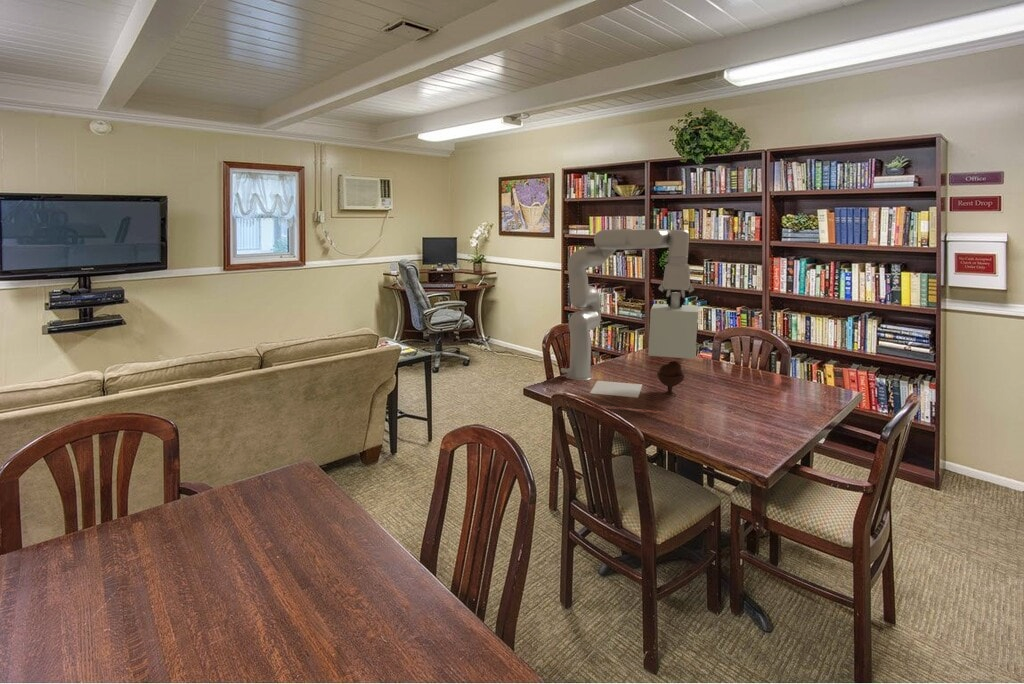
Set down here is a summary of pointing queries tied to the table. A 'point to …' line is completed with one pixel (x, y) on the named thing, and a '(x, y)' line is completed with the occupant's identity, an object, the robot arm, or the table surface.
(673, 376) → the ice cream bowl
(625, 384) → the mat
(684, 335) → the cover
